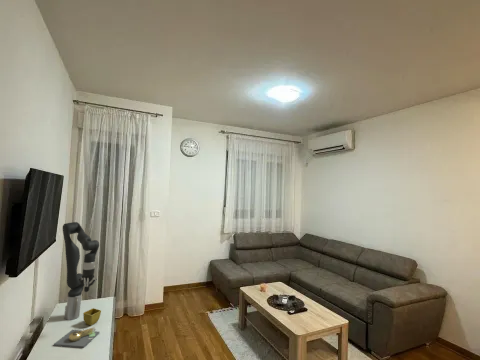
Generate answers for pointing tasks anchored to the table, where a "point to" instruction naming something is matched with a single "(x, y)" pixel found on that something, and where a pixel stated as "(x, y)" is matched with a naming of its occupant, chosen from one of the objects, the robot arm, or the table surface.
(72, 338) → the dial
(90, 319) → the flower pot
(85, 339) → the board
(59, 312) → the table surface
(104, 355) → the table surface
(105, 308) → the table surface
